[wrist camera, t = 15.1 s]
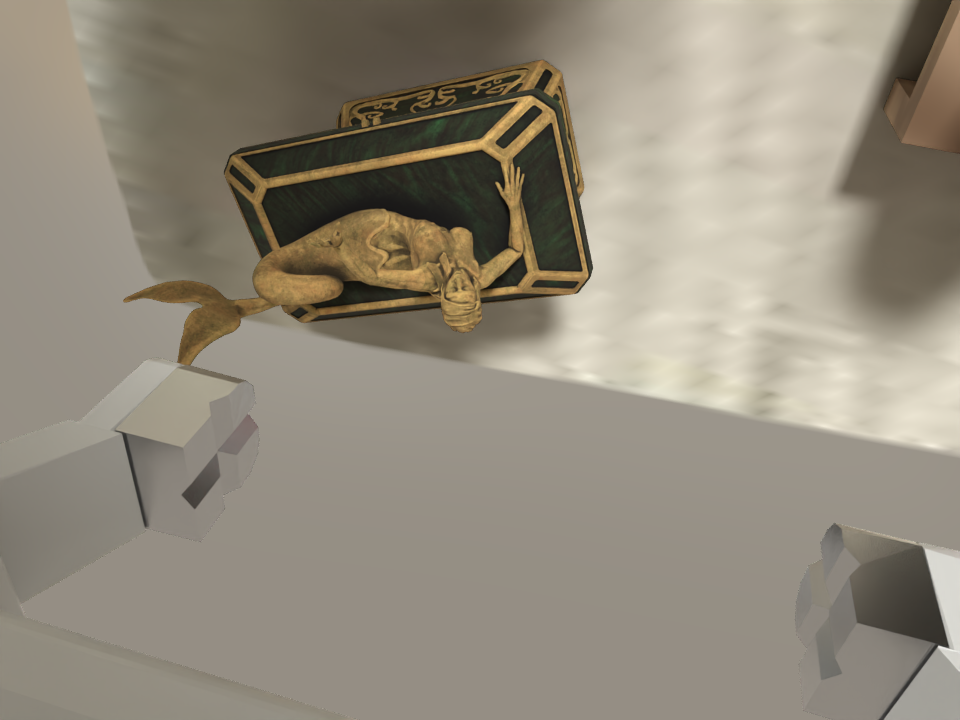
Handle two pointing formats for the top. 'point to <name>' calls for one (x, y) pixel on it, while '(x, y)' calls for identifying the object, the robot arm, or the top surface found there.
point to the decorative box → (409, 208)
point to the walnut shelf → (932, 94)
